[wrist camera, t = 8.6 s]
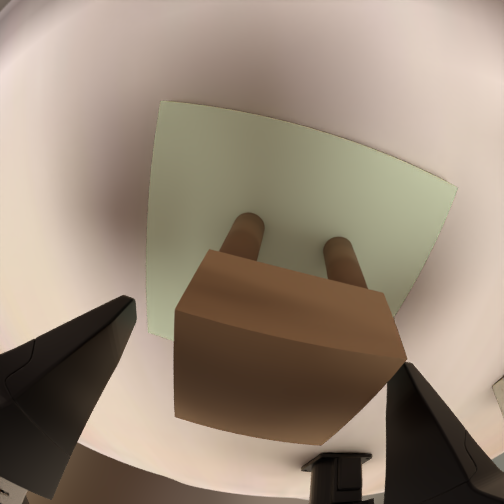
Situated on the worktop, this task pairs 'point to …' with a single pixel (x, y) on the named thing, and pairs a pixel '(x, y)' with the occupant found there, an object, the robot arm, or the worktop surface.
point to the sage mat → (281, 202)
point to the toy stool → (280, 342)
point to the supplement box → (500, 394)
